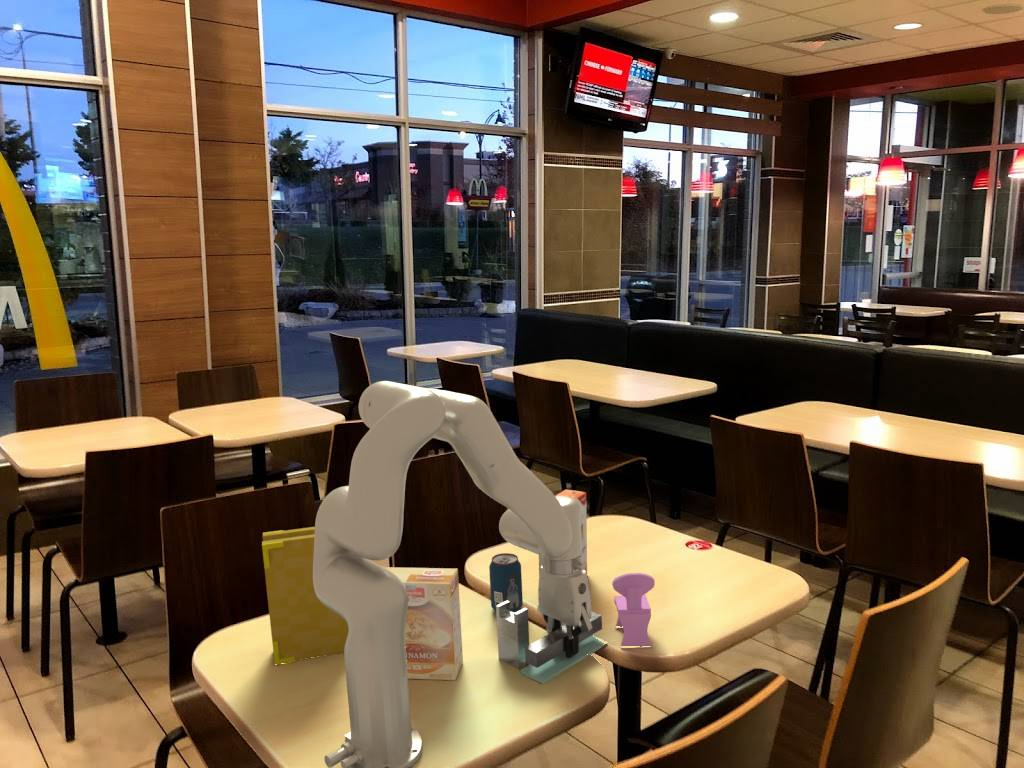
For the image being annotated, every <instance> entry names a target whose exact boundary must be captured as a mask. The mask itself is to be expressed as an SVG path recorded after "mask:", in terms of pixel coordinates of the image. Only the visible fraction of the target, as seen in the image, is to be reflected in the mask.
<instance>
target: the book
mask: <svg viewBox="0 0 1024 768" xmlns="http://www.w3.org/2000/svg"><path fill="white" fill-rule="evenodd" d="M314 535H315V526H310V527H302V528H295V529H288V530H283V529H282V530H281V529H280V530H274V531H267V532H262V541H261V547H262V548H261V549H262V558H263V565H264V566H263V569H264V576H265V586H266V587H265V588H266V595H267V604H268V613H269V614H268V615H269V623H270V631H271V633H270V634H271V642H272V643H271V644H272V652H273V662H274V664H273V665H275V664H281V663H288V664H291V663H290V662H293V663H295V662H296V661H295V660H298V661H301V660H300V659H304V660H306V659H305V658H310V659H312V658H311V657H315V658H318V657H317V656H321V657H325V656H324V655H327V656H331V655H330V654H333V655H338V654H342V653H343V654H344V647H345V643H346V639H347V636H348V624H347V622H346V621H345V620H344V619H343V618H341V617H340V616H339V615H338V614H336V613H335V612H333V611H332V610H330V609H329V608H327V607H326V606H325V605H324V604H322V603H321V602H320V600H319V599H318V598H317V596H316V594H315V590H314V586H313V556H314Z"/></svg>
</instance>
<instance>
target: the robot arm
mask: <svg viewBox="0 0 1024 768" xmlns="http://www.w3.org/2000/svg"><path fill="white" fill-rule="evenodd" d="M358 413H359V417H360V418H361V421H362V422H363V424H365V426H366V427H367V428H368V429H369V430H368V431H367V432H366V433H365V435H363V437H362V438H361V439H360V441H359V443H358V444H357V446H356V448H355V450H354V452H353V456H352V459H351V465H350V469H349V470H350V471H349V479H348V481H349V482H348V485H345V486H340V487H337V488H335V489H333V490H332V491H330V492H329V493H328V494H327V495H326V496H325V497H324V498H323V500H322V501H321V503H320V505H319V507H318V510H317V512H316V517H315V522H314V523H315V524H314V527H315V535H314V556H313V586H314V590H315V594H316V596H317V598H318V599H319V600H320V602H321V603H322V604H324V605H325V606H326V607H327V608H329V609H330V610H332V611H333V612H335V613H336V614H338V615H339V616H340V617H341V618H343V619H344V620H345V621H346V622H347V624H348V636H347V639H346V643H345V647H344V653H343V660H344V670H345V678H346V679H345V681H346V691H347V703H348V714H349V716H348V717H349V725H350V726H349V727H350V732H348V733H346V734H344V740H345V742H343V743H341V746H340V748H338V749H337V750H336V749H335V750H334V751H331V752H330V753H328V754H326V755H324V758H323V759H324V763H325V765H326V767H328V768H332V767H335V766H336V765H338V764H341V768H409V767H410V768H411V767H412V766H413V765H414V764H416V762H418V760H419V759H420V758H421V755H422V753H423V740H422V737H421V735H420V733H419V732H418V731H417V730H416V729H414V728H412V718H411V705H410V704H411V703H410V692H409V689H410V688H409V679H408V674H407V661H406V647H405V626H406V617H407V610H408V595H407V591H406V588H405V586H404V585H403V583H402V582H401V580H400V579H399V578H398V577H397V576H396V575H395V574H393V573H392V572H391V571H389V570H387V569H386V568H384V567H385V566H382V565H379V564H378V563H377V562H378V561H385V560H387V559H389V558H391V557H392V556H394V554H395V553H396V552H397V550H398V549H399V547H400V545H401V542H402V536H403V528H404V511H405V510H404V509H405V495H406V494H405V491H406V481H407V473H408V470H409V468H410V467H409V466H410V464H411V462H412V460H413V458H414V457H415V455H417V452H419V450H421V448H423V446H424V445H426V443H428V442H430V440H432V439H436V440H440V441H443V442H447V443H449V445H450V446H451V447H452V448H453V450H454V451H455V453H456V455H457V457H458V458H459V460H460V461H461V462H462V464H463V466H464V468H465V470H466V471H467V473H468V474H469V476H470V477H471V479H472V481H473V483H474V484H475V486H476V487H477V488H478V489H479V490H481V491H482V492H483V493H484V494H485V495H487V496H489V498H491V499H493V500H494V501H496V502H497V503H499V504H501V505H502V506H504V507H505V508H507V509H506V510H505V512H504V513H502V515H501V517H500V520H499V521H498V523H499V524H498V529H499V533H500V535H501V536H502V538H503V540H505V541H506V542H508V543H509V544H511V545H513V546H516V547H518V548H521V549H523V550H527V551H528V552H531V553H534V554H536V555H538V556H539V555H541V556H542V566H541V569H540V575H539V574H538V577H539V579H538V588H537V589H538V590H537V593H538V594H537V597H538V598H537V600H538V602H537V603H538V605H537V608H536V610H537V613H539V614H540V616H542V617H543V620H544V621H545V623H546V625H547V624H548V630H549V631H551V632H553V631H555V630H557V629H559V628H560V627H562V626H561V623H562V622H564V623H566V628H567V638H566V639H565V644H566V651H565V653H566V657H567V658H570V657H572V656H574V655H575V654H577V653H578V652H579V638H578V636H579V635H580V634H581V633H584V632H588V631H589V630H591V629H592V625H591V622H590V620H589V619H590V618H591V616H592V612H593V611H592V598H591V591H590V583H589V580H588V573H587V574H586V571H585V570H584V569H585V564H584V563H582V543H581V510H580V504H579V502H578V501H577V500H576V499H574V498H572V497H567V496H556V495H555V494H554V493H553V492H552V490H551V489H549V488H548V487H547V485H545V483H543V481H542V480H540V479H539V478H538V477H537V476H536V474H534V473H533V472H532V470H531V469H529V468H528V467H527V466H526V465H525V464H524V463H523V462H521V461H520V459H519V458H518V456H517V455H516V453H515V451H514V450H513V448H512V446H511V444H510V443H509V440H508V439H507V438H506V437H507V436H505V434H504V432H503V430H502V428H501V426H500V425H499V423H498V421H497V419H496V418H495V416H494V414H493V412H492V411H491V409H490V407H489V406H488V405H487V404H486V402H484V401H483V400H482V399H480V398H479V397H477V396H473V395H470V394H466V393H460V392H454V391H450V390H446V389H445V390H442V389H435V388H427V387H421V386H416V385H409V384H405V383H400V382H399V383H398V382H395V381H389V380H383V381H382V380H381V381H376V382H374V383H372V384H370V385H369V386H368V387H366V389H364V391H363V392H362V394H361V396H360V398H359V402H358ZM374 561H377V562H374ZM580 621H581V624H582V625H581V624H580ZM573 626H574V628H575V629H574V630H573Z"/></svg>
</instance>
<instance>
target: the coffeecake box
mask: <svg viewBox="0 0 1024 768" xmlns="http://www.w3.org/2000/svg"><path fill="white" fill-rule="evenodd" d="M383 567H384V568H386V569H387V570H389V571H391V572H392V573H393V574H395V575H396V576H397V577H398V578H399V579H400V580H401V582H402V583H403V585H404V586H405V588H406V591H407V595H408V610H407V617H406V626H405V647H406V661H407V674H408V680H413V679H414V680H437V681H438V680H439V681H456V680H457V678H458V675H459V672H460V670H461V667H462V664H463V662H464V658H463V657H464V654H463V639H462V636H463V635H462V620H461V603H460V588H459V587H460V585H459V584H460V583H459V569H458V568H443V567H441V568H440V567H438V568H437V567H436V568H435V567H431V568H430V567H395V566H391V567H390V566H387V567H386V566H383Z"/></svg>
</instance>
